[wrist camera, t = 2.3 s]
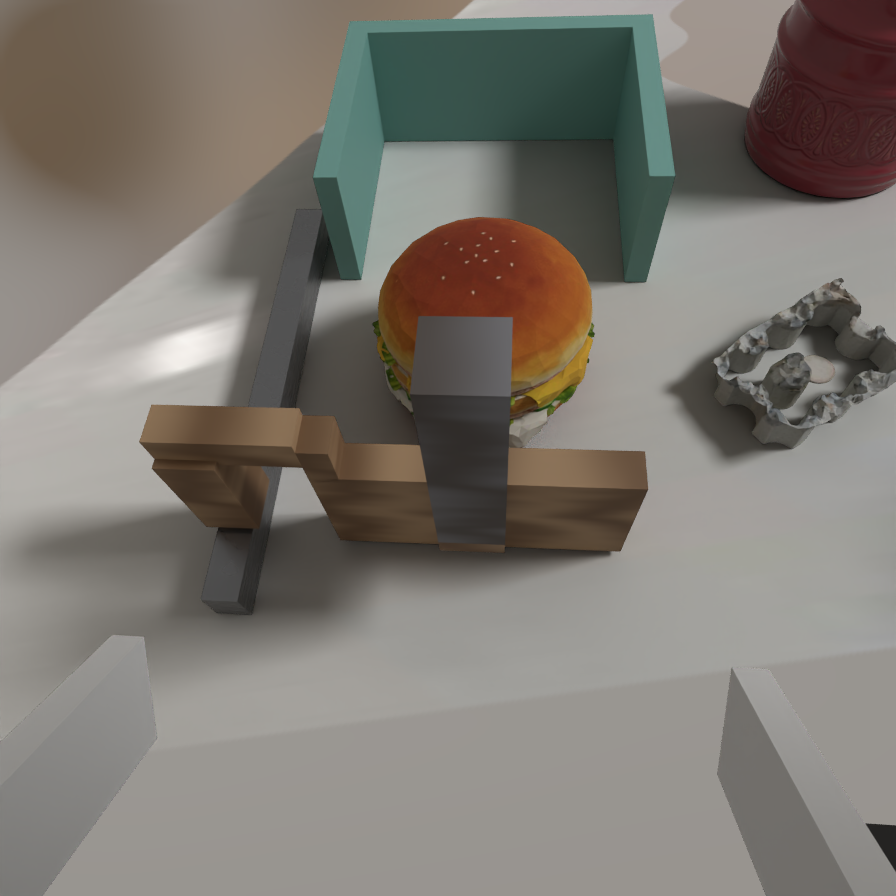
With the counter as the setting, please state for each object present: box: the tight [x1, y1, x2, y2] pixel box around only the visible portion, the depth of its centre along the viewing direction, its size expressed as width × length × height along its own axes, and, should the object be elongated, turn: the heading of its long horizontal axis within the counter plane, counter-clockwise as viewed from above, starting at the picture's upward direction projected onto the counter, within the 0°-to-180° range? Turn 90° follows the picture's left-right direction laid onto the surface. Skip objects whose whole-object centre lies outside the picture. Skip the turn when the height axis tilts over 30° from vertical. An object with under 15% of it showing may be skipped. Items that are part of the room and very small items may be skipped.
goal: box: [313, 14, 675, 282], centre depth 50 cm, size 22×17×9 cm
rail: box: [201, 209, 329, 615], centre depth 45 cm, size 2×30×2 cm, turn 176°
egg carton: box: [711, 278, 896, 449], centre depth 42 cm, size 11×8×4 cm
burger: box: [372, 217, 595, 448], centre depth 41 cm, size 13×14×10 cm
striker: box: [139, 316, 648, 553], centre depth 31 cm, size 23×6×20 cm, turn 86°
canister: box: [745, 0, 896, 198], centre depth 47 cm, size 13×13×18 cm
